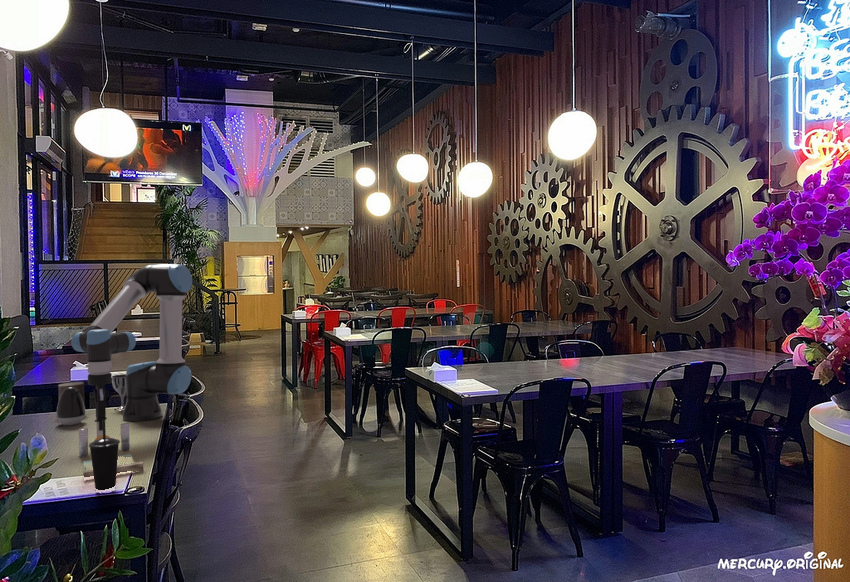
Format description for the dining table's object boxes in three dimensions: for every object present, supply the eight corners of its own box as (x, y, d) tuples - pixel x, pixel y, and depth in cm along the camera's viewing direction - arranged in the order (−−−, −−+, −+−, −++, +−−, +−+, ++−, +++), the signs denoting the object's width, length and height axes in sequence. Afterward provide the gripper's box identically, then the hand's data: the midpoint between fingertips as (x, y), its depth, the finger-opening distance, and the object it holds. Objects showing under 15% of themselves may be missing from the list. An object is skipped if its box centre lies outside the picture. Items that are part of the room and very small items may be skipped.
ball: (112, 451, 210) (111, 449, 214) (112, 434, 210) (111, 433, 215) (94, 453, 207) (93, 451, 212) (94, 436, 207) (93, 435, 212)
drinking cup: (105, 485, 176) (103, 416, 176) (127, 487, 174) (125, 417, 173) (83, 494, 169) (81, 422, 168) (105, 497, 167) (104, 424, 166)
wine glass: (134, 406, 283) (133, 373, 283) (129, 410, 275) (128, 376, 275) (116, 407, 282) (115, 374, 281) (110, 411, 274) (109, 377, 273)
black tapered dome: (70, 427, 244) (69, 389, 243) (50, 426, 247) (49, 388, 247) (91, 421, 254) (90, 385, 253) (72, 420, 257) (71, 384, 256)
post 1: (87, 454, 207) (87, 427, 207) (88, 456, 205) (87, 429, 205) (79, 455, 206) (78, 428, 206) (79, 457, 204) (78, 430, 203)
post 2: (129, 448, 214) (128, 422, 214) (130, 450, 212) (129, 424, 212) (120, 449, 213) (120, 423, 212) (121, 451, 210) (121, 425, 210)
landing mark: (130, 454, 207) (130, 453, 207) (136, 465, 195) (136, 464, 195) (82, 461, 199) (82, 461, 199) (85, 473, 187) (85, 472, 187)
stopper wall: (142, 469, 190) (142, 461, 190) (143, 471, 189) (143, 463, 189) (83, 479, 182) (83, 470, 182) (83, 481, 180) (83, 472, 180)
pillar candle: (88, 415, 266) (87, 380, 266) (63, 419, 259) (62, 383, 259) (80, 412, 273) (79, 378, 273) (55, 415, 266) (54, 381, 265)
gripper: (86, 371, 223) (87, 436, 223) (89, 376, 212) (90, 444, 212) (109, 369, 227) (111, 433, 227) (113, 374, 216) (115, 441, 216)
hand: (101, 438), depth 220 cm, fingers closed
